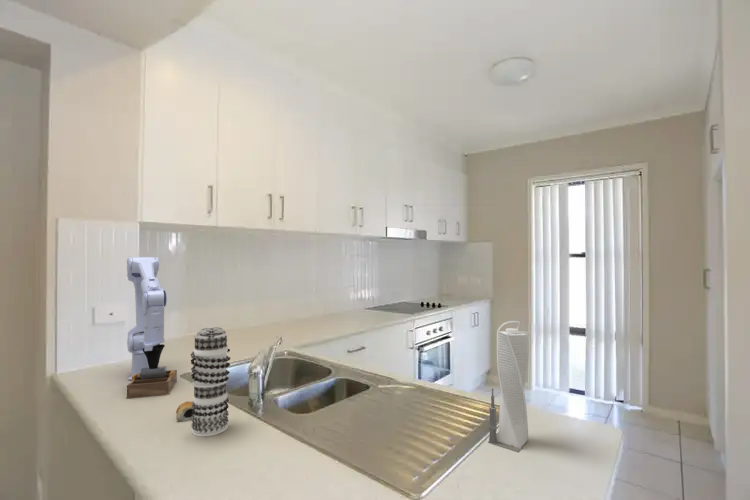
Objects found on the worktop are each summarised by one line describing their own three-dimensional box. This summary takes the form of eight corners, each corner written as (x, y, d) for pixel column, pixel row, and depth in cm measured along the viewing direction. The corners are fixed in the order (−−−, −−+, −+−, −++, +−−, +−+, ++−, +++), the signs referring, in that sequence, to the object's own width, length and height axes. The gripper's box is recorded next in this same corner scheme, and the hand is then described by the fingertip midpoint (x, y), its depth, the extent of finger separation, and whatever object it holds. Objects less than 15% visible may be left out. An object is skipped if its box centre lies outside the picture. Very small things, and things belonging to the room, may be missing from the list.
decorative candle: (191, 424, 97) (192, 327, 98) (230, 418, 100) (230, 325, 101) (187, 440, 89) (188, 333, 89) (229, 433, 92) (230, 331, 93)
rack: (139, 384, 128) (139, 369, 128) (176, 381, 132) (176, 366, 132) (126, 398, 115) (126, 381, 115) (168, 394, 119) (168, 378, 119)
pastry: (175, 411, 106) (175, 397, 106) (201, 406, 109) (201, 393, 110) (176, 423, 98) (176, 409, 98) (204, 418, 101) (205, 404, 101)
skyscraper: (501, 431, 94) (500, 318, 94) (535, 441, 88) (533, 321, 89) (487, 443, 87) (486, 322, 88) (523, 455, 82) (522, 326, 83)
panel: (142, 386, 123) (142, 368, 123) (166, 384, 125) (166, 366, 125) (140, 388, 121) (140, 369, 121) (164, 386, 123) (165, 367, 124)
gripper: (146, 323, 129) (145, 363, 129) (133, 331, 116) (132, 375, 115) (169, 322, 132) (168, 361, 131) (159, 330, 118) (158, 373, 117)
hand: (153, 368), depth 123 cm, fingers closed, pressing on panel
